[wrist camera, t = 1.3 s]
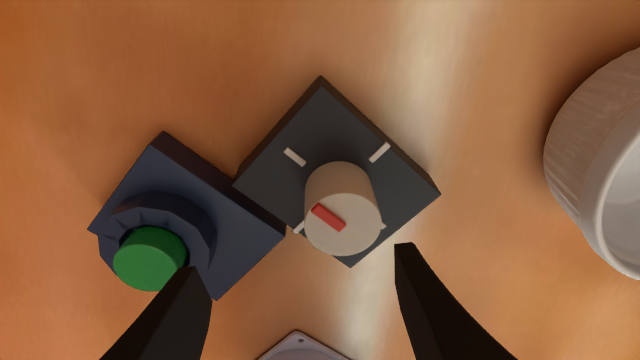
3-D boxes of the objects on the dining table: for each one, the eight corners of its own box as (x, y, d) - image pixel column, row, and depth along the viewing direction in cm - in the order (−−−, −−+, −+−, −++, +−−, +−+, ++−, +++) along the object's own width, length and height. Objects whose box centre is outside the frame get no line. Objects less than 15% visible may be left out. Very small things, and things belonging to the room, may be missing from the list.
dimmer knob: (384, 188, 21) (399, 226, 18) (339, 228, 22) (344, 271, 19) (337, 147, 20) (342, 181, 16) (291, 193, 21) (287, 233, 18)
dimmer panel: (430, 174, 24) (443, 194, 21) (346, 246, 26) (349, 271, 24) (321, 73, 20) (322, 84, 18) (237, 168, 23) (229, 188, 21)
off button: (198, 247, 21) (189, 266, 20) (167, 279, 23) (157, 300, 21) (144, 215, 20) (131, 233, 19) (115, 251, 21) (100, 271, 20)
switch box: (287, 217, 25) (283, 255, 21) (221, 281, 28) (208, 323, 24) (163, 129, 22) (134, 157, 18) (102, 213, 24) (67, 250, 21)
